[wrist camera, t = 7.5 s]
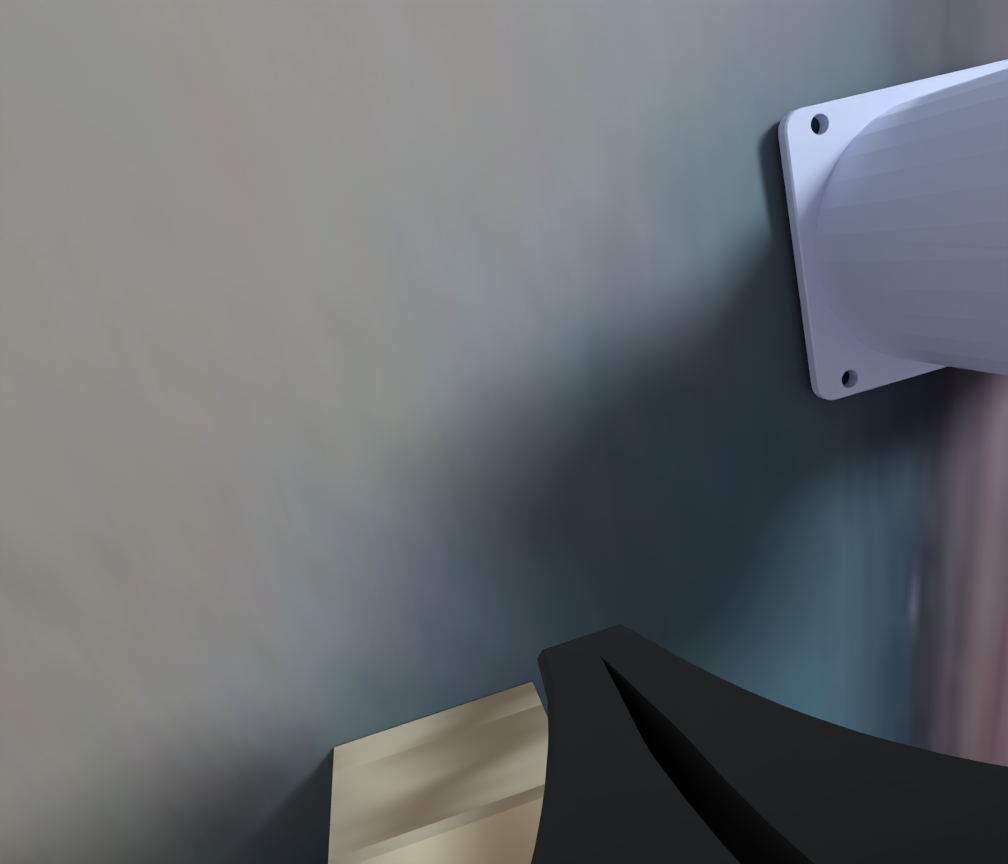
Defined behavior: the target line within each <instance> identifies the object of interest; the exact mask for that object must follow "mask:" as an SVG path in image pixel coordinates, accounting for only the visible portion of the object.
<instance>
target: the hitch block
mask: <svg viewBox="0 0 1008 864" xmlns="http://www.w3.org/2000/svg"><path fill="white" fill-rule="evenodd" d="M547 752H548V717H547V715H546V712H545V710H544V708H543V705H542V703H541V701H540V698H539V696H538V694H537V691H536V689H535V687H534V684H533V682H529V683H526V684H523V685H520V686H517V687H514V688H511V689H508V690H505V691H502V692H499V693H496V694H493V695H490V696H487V697H484V698H481V699H478V700H475V701H472V702H469V703H466V704H463V705H460V706H457V707H454V708H451V709H448V710H445V711H442V712H439V713H436V714H433V715H430V716H427V717H424V718H421V719H418V720H415V721H412V722H409V723H406V724H403V725H400V726H397V727H394V728H391V729H388V730H385V731H382V732H379V733H376V734H373V735H370V736H367V737H364V738H361V739H358V740H355V741H352V742H349V743H346V744H343V745H340V746H337V747H334V760H333V779H332V798H331V817H330V836H329V854H328V864H531V861H532V856H533V852H534V848H535V843H536V838H537V833H538V827H539V822H540V816H541V810H542V803H543V795H544V788H545V777H546V764H547Z"/></svg>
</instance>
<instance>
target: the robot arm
mask: <svg viewBox="0 0 1008 864" xmlns="http://www.w3.org/2000/svg"><path fill="white" fill-rule="evenodd" d="M813 117H815V118H816V119H818V121H819V124H820V129H819V132H818V133H817V135H816V134H815V133H814V132H813V131H812V128H811V120H812V119H813ZM778 137H779V144H780V152H781V160H782V167H783V175H784V182H785V190H786V197H787V205H788V213H789V220H790V228H791V235H792V243H793V250H794V258H795V266H796V273H797V281H798V288H799V296H800V303H801V311H802V319H803V326H804V334H805V341H806V349H807V356H808V364H809V372H810V379H811V386H812V389H813V392H814V393H815V394H816V395H817V396H818V397H820V398H823V399H826V400H836V399H840V398H843V397H846V396H850V395H853V394H856V393H860V392H863V391H867V390H870V389H873V388H877V387H880V386H883V385H887V384H890V383H894V382H897V381H900V380H904V379H907V378H911V377H914V376H917V375H921V374H924V373H927V372H931V371H934V370H938V369H941V368H944V367H948V366H950V367H956V368H962V369H969V370H975V371H981V372H988V373H994V374H1000V375H1007V376H1008V59H1007V60H1003V61H999V62H995V63H990V64H986V65H982V66H978V67H973V68H969V69H965V70H961V71H956V72H952V73H948V74H944V75H940V76H935V77H931V78H927V79H923V80H918V81H914V82H910V83H906V84H901V85H897V86H893V87H889V88H884V89H880V90H876V91H872V92H867V93H863V94H859V95H855V96H851V97H846V98H842V99H838V100H834V101H829V102H825V103H821V104H817V105H812V106H808V107H804V108H800V109H797V110H794V111H792V112H790V113H788V114H786V115H785V116H784V117H783V118H782V120H781V122H780V125H779V128H778ZM846 371H848V372H849V380H848V381H847V383H846V384H844V385H843V384H842V376H843V374H844V373H845V372H846ZM537 660H538V664H539V668H540V672H541V676H542V680H543V684H544V687H545V691H546V695H547V701H548V752H547V764H546V777H545V788H544V795H543V803H542V810H541V816H540V822H539V827H538V833H537V838H536V843H535V848H534V852H533V856H532V861H531V864H1008V767H1006V766H1000V765H994V764H988V763H983V762H978V761H974V760H969V759H964V758H959V757H954V756H949V755H945V754H940V753H936V752H932V751H928V750H924V749H920V748H916V747H912V746H908V745H904V744H900V743H896V742H892V741H888V740H885V739H881V738H878V737H874V736H871V735H867V734H864V733H860V732H857V731H854V730H851V729H848V728H845V727H842V726H839V725H836V724H833V723H830V722H827V721H824V720H821V719H818V718H815V717H812V716H809V715H806V714H803V713H801V712H798V711H795V710H793V709H790V708H787V707H785V706H782V705H780V704H778V703H775V702H773V701H771V700H768V699H766V698H764V697H761V696H759V695H756V694H754V693H752V692H749V691H747V690H745V689H742V688H740V687H738V686H736V685H734V684H732V683H730V682H727V681H725V680H723V679H721V678H719V677H717V676H715V675H713V674H711V673H709V672H707V671H705V670H703V669H701V668H699V667H697V666H695V665H693V664H691V663H689V662H687V661H686V660H684V659H682V658H680V657H678V656H676V655H675V654H673V653H671V652H669V651H667V650H665V649H664V648H662V647H660V646H658V645H657V644H655V643H653V642H651V641H649V640H648V639H646V638H644V637H642V636H641V635H639V634H637V633H635V632H633V631H632V630H630V629H628V628H626V627H624V626H623V625H621V624H620V625H617V626H614V627H611V628H608V629H605V630H602V631H599V632H596V633H593V634H590V635H587V636H583V637H580V638H577V639H574V640H571V641H568V642H565V643H562V644H559V645H556V646H553V647H550V648H547V649H544V650H542V652H541V654H540V655H539V657H538V659H537Z"/></svg>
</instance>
